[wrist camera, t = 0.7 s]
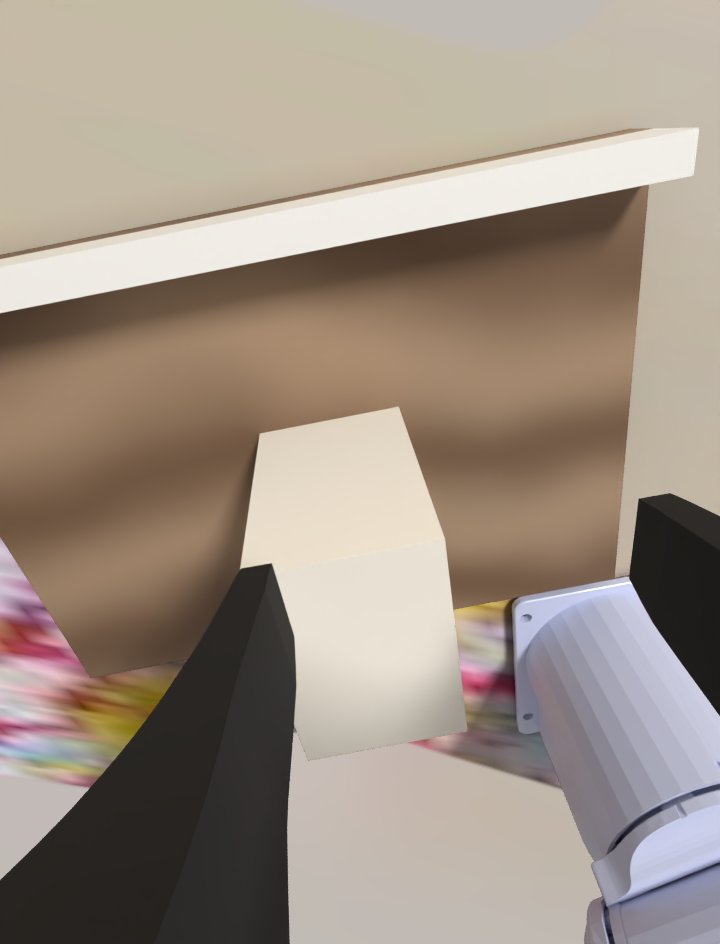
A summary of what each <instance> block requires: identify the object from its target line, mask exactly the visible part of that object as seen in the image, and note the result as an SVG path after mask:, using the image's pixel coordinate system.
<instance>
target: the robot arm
mask: <svg viewBox="0 0 720 944" xmlns="http://www.w3.org/2000/svg"><path fill="white" fill-rule="evenodd" d="M525 614H527V615H525ZM523 615H525V616H523ZM512 622H513V646H514V670H515V694H516V719H517V726H518V729H519V732H521V733H523V734H531V733H536V732H540V734H541V737H542V739H543V742H544V744H545V747H546V749H547V752H548V754H549V757H550V759H551V762H552V764H553V767H554V769H555V772H556V774H557V777H558V780H559V782H560V785H561V787H562V790H563V792H564V794H565V797H566V800H567V802H568V805H569V807H570V810H571V812H572V815H573V817H574V820H575V822H576V825H577V828H578V830H579V833H580V835H581V838H582V840H583V842H584V844H585V846H586V848H587V850H588V852H589V854H590V855H591V857H592V858H593V860H594V861H595V862H593V863H592V864H591V868H592V870H593V873H594V875H595V878H596V880H597V883H598V886H599V888H600V891H601V893H602V897H600V898H597V899H595V900H593V901H592V902H590V904H589V907H588V911H587V925H586V930H585V937H584V942H585V943H584V944H720V516H718V515H716V514H714V513H712V512H710V511H708V510H706V509H704V508H702V507H699V506H697V505H695V504H693V503H691V502H689V501H687V500H685V499H682V498H680V497H678V496H675V495H673V494H671V493H669V494H664V495H658V496H652V497H646V498H641V499H639V501H638V510H637V518H636V526H635V534H634V542H633V550H632V558H631V566H630V575H629V576H628V577H623V578H618V579H613V580H607V581H602V582H597V583H591V584H586V585H581V586H575V587H570V588H565V589H559V590H554V591H549V592H544V593H538V594H533V595H528V596H522V597H519V598H518V599H516V600H515V601H514V602H513V604H512ZM296 686H297V685H296V658H295V638H294V634H293V630H292V627H291V624H290V621H289V617H288V614H287V611H286V608H285V604H284V601H283V598H282V594H281V591H280V588H279V585H278V581H277V578H276V575H275V572H274V568H273V565H272V563H270V564H264V565H258V566H252V567H247V568H241V569H240V571H239V572H238V573H237V575H236V577H235V579H234V580H233V582H232V584H231V586H230V588H229V590H228V592H227V594H226V595H225V597H224V599H223V601H222V603H221V605H220V606H219V608H218V610H217V612H216V613H215V615H214V617H213V619H212V621H211V622H210V624H209V626H208V627H207V629H206V631H205V632H204V634H203V636H202V637H201V639H200V641H199V642H198V644H197V646H196V647H195V649H194V651H193V652H192V654H191V656H190V657H189V659H188V660H187V662H186V663H185V665H184V666H183V668H182V669H181V671H180V672H179V674H178V675H177V677H176V678H175V680H174V681H173V683H172V684H171V686H170V687H169V689H168V690H167V692H166V693H165V695H164V696H163V698H162V699H161V700H160V702H159V703H158V705H157V706H156V707H155V709H154V710H153V712H152V713H151V714H150V716H149V717H148V718H147V720H146V721H145V722H144V724H143V725H142V726H141V728H140V729H139V730H138V731H137V733H136V734H135V735H134V737H133V738H132V739H131V740H130V742H129V743H128V744H127V745H126V747H125V748H124V749H123V750H122V752H121V753H120V754H119V755H118V756H117V758H116V759H115V760H114V761H113V762H112V763H111V765H110V766H109V767H108V768H107V769H106V770H105V772H104V773H103V774H102V775H101V776H100V777H99V779H98V780H97V781H96V782H95V783H94V784H93V785H92V786H91V788H90V789H89V790H88V791H87V792H86V793H85V794H84V795H83V797H82V798H81V799H80V800H79V801H78V802H77V803H76V804H75V805H74V807H73V808H72V809H71V810H70V811H69V812H68V813H67V814H66V815H65V816H64V817H63V818H62V819H61V820H60V822H58V823H57V825H56V826H55V827H54V828H53V829H52V830H51V831H50V832H49V833H48V834H47V835H46V836H45V837H44V838H43V839H42V840H41V841H40V842H39V843H38V844H37V845H36V846H35V847H34V848H33V849H32V850H31V851H30V852H29V853H28V854H27V855H26V856H25V857H24V858H23V859H22V860H21V861H20V862H18V863H17V864H16V865H15V866H14V867H13V868H12V869H11V871H9V872H8V873H7V874H6V875H5V876H4V877H3V878H2V879H1V880H0V944H290V943H289V906H288V858H287V857H288V856H287V816H288V795H289V781H290V769H291V756H292V742H293V729H294V715H295V701H296Z"/></svg>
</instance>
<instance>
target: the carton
mask: <svg viewBox="0 0 720 944" xmlns="http://www.w3.org/2000/svg"><path fill="white" fill-rule="evenodd" d="M270 563H272V565H273V568H274V572H275V575H276V578H277V581H278V585H279V588H280V591H281V594H282V598H283V601H284V604H285V608H286V611H287V614H288V617H289V621H290V624H291V627H292V630H293V634H294V638H295V658H296V685H297V686H296V701H295V715H294V725H295V728H296V731H297V733H298V736H299V739H300V741H301V744H302V747H303V749H304V752H305V754H306V757H307V760H308V761H310V760H315V759H321V758H326V757H332V756H337V755H342V754H348V753H353V752H359V751H364V750H369V749H374V748H380V747H385V746H391V745H396V744H402V743H407V742H412V741H418V740H423V739H429V738H434V737H439V736H445V735H450V734H456V733H461V732H466V731H467V723H466V714H465V705H464V697H463V688H462V680H461V671H460V663H459V654H458V646H457V637H456V629H455V620H454V612H453V603H452V595H451V586H450V577H449V569H448V560H447V552H446V543H445V537H444V535H443V532H442V529H441V526H440V523H439V520H438V518H437V515H436V512H435V509H434V506H433V503H432V500H431V498H430V495H429V492H428V489H427V486H426V483H425V480H424V478H423V475H422V472H421V469H420V466H419V463H418V460H417V458H416V455H415V452H414V449H413V446H412V443H411V440H410V438H409V435H408V432H407V429H406V426H405V423H404V421H403V418H402V415H401V412H400V409H399V407H394V408H389V409H384V410H379V411H374V412H369V413H363V414H358V415H353V416H348V417H343V418H338V419H332V420H327V421H322V422H317V423H312V424H307V425H302V426H296V427H291V428H286V429H281V430H276V431H271V432H266V433H260V435H259V442H258V449H257V456H256V463H255V470H254V477H253V484H252V491H251V497H250V504H249V511H248V518H247V525H246V532H245V539H244V546H243V553H242V559H241V566H240V569H241V568H247V567H252V566H258V565H264V564H270Z"/></svg>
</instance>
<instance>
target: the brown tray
mask: <svg viewBox="0 0 720 944" xmlns="http://www.w3.org/2000/svg"><path fill="white" fill-rule="evenodd" d="M698 134H699V128H653V129H628V130H623V131H618V132H613V133H608V134H603V135H598V136H593V137H588V138H583V139H578V140H573V141H568V142H563V143H558V144H553V145H548V146H543V147H538V148H533V149H528V150H523V151H518V152H513V153H508V154H503V155H498V156H493V157H488V158H483V159H478V160H473V161H468V162H463V163H458V164H453V165H448V166H443V167H438V168H433V169H428V170H423V171H418V172H413V173H408V174H403V175H398V176H393V177H388V178H383V179H378V180H373V181H368V182H363V183H358V184H353V185H348V186H343V187H338V188H333V189H328V190H323V191H318V192H313V193H308V194H303V195H298V196H293V197H288V198H283V199H278V200H273V201H268V202H263V203H258V204H253V205H248V206H243V207H238V208H233V209H228V210H223V211H218V212H213V213H208V214H203V215H198V216H193V217H188V218H183V219H178V220H173V221H168V222H163V223H158V224H153V225H148V226H143V227H138V228H133V229H128V230H123V231H118V232H113V233H108V234H103V235H98V236H93V237H88V238H83V239H78V240H73V241H68V242H63V243H58V244H53V245H48V246H43V247H38V248H33V249H28V250H23V251H18V252H13V253H8V254H3V255H0V537H1V539H2V540H3V542H4V543H5V545H6V547H7V548H8V550H9V551H10V553H11V554H12V556H13V557H14V559H15V561H16V562H17V564H18V565H19V567H20V568H21V570H22V571H23V573H24V575H25V576H26V578H27V579H28V581H29V582H30V584H31V586H32V587H33V589H34V590H35V592H36V593H37V595H38V596H39V598H40V600H41V601H42V603H43V604H44V606H45V607H46V609H47V610H48V612H49V614H50V615H51V617H52V618H53V620H54V621H55V623H56V625H57V626H58V628H59V629H60V631H61V632H62V634H63V635H64V637H65V639H66V640H67V642H68V643H69V645H70V646H71V648H72V649H73V651H74V653H75V654H76V656H77V657H78V659H79V660H80V662H81V663H82V665H83V667H84V668H85V670H86V671H87V673H88V674H89V676H90V678H93V677H98V676H103V675H109V674H114V673H119V672H125V671H130V670H135V669H140V668H146V667H151V666H156V665H162V664H167V663H172V662H178V661H183V660H188V659H189V657H190V656H191V654H192V652H193V651H194V649H195V647H196V646H197V644H198V642H199V641H200V639H201V637H202V636H203V634H204V632H205V631H206V629H207V627H208V626H209V624H210V622H211V621H212V619H213V617H214V615H215V613H216V612H217V610H218V608H219V606H220V605H221V603H222V601H223V599H224V597H225V595H226V594H227V592H228V590H229V588H230V586H231V584H232V582H233V580H234V579H235V577H236V575H237V573H238V572H239V571H240V566H241V559H242V553H243V546H244V539H245V532H246V525H247V518H248V511H249V504H250V497H251V491H252V484H253V477H254V470H255V463H256V456H257V449H258V442H259V435H260V433H266V432H271V431H276V430H281V429H286V428H291V427H296V426H302V425H307V424H312V423H317V422H322V421H327V420H332V419H338V418H343V417H348V416H353V415H358V414H363V413H369V412H374V411H379V410H384V409H389V408H394V407H399V409H400V412H401V415H402V418H403V421H404V423H405V426H406V429H407V432H408V435H409V438H410V440H411V443H412V446H413V449H414V452H415V455H416V458H417V460H418V463H419V466H420V469H421V472H422V475H423V478H424V480H425V483H426V486H427V489H428V492H429V495H430V498H431V500H432V503H433V506H434V509H435V512H436V515H437V518H438V520H439V523H440V526H441V529H442V532H443V535H444V537H445V543H446V552H447V560H448V569H449V577H450V586H451V595H452V603H453V609H459V608H464V607H469V606H474V605H480V604H485V603H490V602H496V601H501V600H506V599H512V598H517V597H522V596H527V595H533V594H538V593H543V592H549V591H554V590H559V589H565V588H570V587H575V586H581V585H586V584H591V583H596V582H602V581H607V580H612V579H614V578H615V566H616V555H617V543H618V532H619V520H620V509H621V497H622V486H623V474H624V463H625V451H626V440H627V428H628V417H629V406H630V394H631V383H632V371H633V360H634V348H635V337H636V325H637V314H638V302H639V291H640V279H641V268H642V256H643V245H644V233H645V222H646V211H647V199H648V188H649V184H653V183H658V182H663V181H668V180H673V179H678V178H683V177H688V176H693V175H694V167H695V159H696V151H697V143H698Z"/></svg>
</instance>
